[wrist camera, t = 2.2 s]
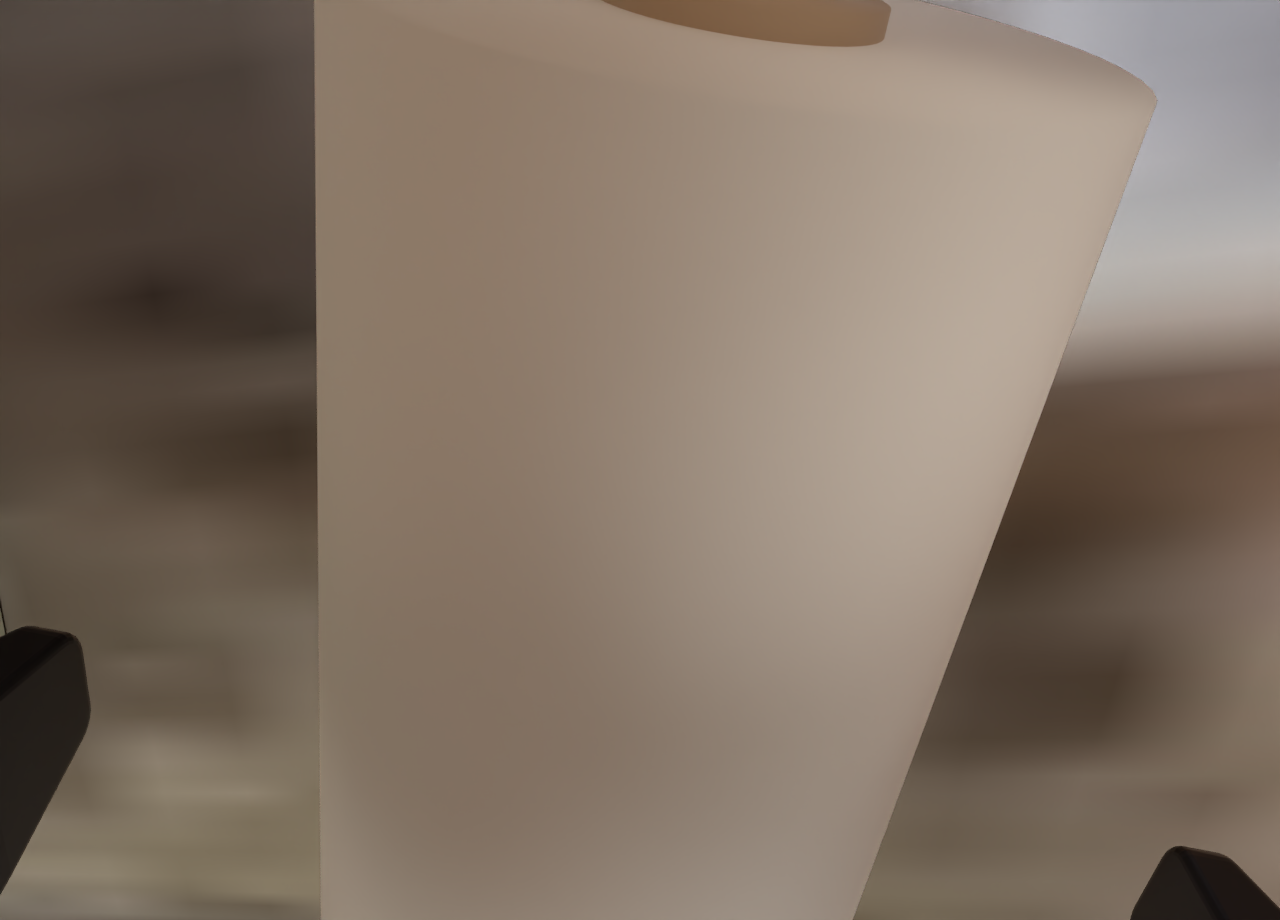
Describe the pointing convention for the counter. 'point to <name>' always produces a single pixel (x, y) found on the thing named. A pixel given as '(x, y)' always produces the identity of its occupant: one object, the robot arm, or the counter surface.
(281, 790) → the counter surface
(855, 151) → the paper roll
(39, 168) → the counter surface
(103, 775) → the counter surface
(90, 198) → the counter surface
